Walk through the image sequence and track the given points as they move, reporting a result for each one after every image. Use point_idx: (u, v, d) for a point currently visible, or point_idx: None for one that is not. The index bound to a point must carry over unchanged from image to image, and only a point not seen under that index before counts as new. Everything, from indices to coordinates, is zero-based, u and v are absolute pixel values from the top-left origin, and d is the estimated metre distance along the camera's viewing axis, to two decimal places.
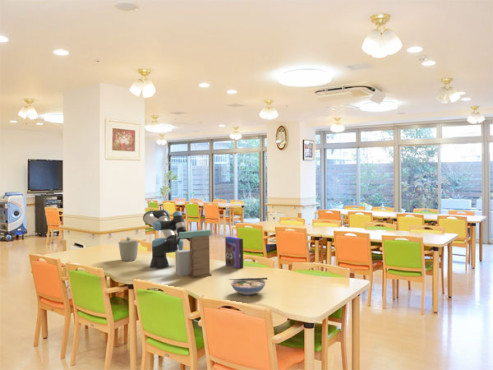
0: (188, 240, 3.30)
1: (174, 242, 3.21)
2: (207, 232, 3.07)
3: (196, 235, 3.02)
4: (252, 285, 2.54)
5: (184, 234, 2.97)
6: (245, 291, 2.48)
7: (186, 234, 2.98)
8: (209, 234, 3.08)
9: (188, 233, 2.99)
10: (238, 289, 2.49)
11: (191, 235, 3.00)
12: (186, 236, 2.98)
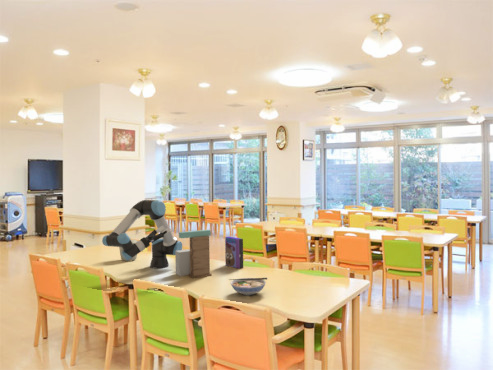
0: (156, 235, 2.93)
1: None
2: (207, 232, 3.07)
3: (196, 235, 3.02)
4: (252, 285, 2.54)
5: (184, 234, 2.97)
6: (245, 291, 2.48)
7: (186, 234, 2.98)
8: (209, 234, 3.08)
9: (188, 233, 2.99)
10: (238, 289, 2.49)
11: (191, 235, 3.00)
12: (186, 236, 2.98)
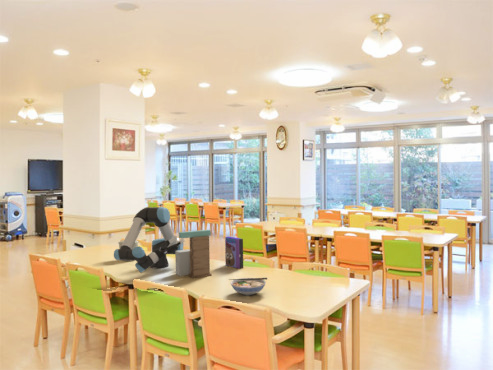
0: (169, 246, 2.89)
1: None
2: (207, 232, 3.07)
3: (196, 235, 3.02)
4: (252, 285, 2.54)
5: (184, 234, 2.97)
6: (245, 291, 2.48)
7: (186, 234, 2.98)
8: (209, 234, 3.08)
9: (188, 233, 2.99)
10: (238, 289, 2.49)
11: (191, 235, 3.00)
12: (186, 236, 2.98)
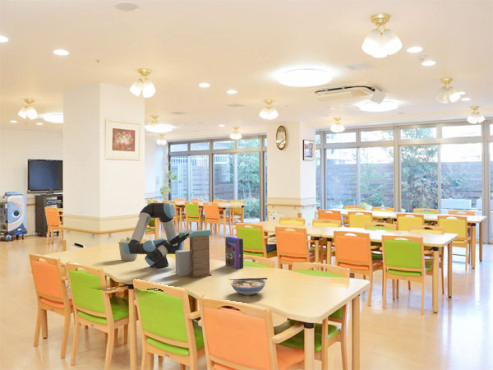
0: (178, 238, 2.95)
1: None
2: (207, 232, 3.07)
3: (196, 235, 3.02)
4: (252, 285, 2.54)
5: None
6: (245, 291, 2.48)
7: None
8: (209, 234, 3.08)
9: None
10: (238, 289, 2.49)
11: (191, 235, 3.00)
12: None
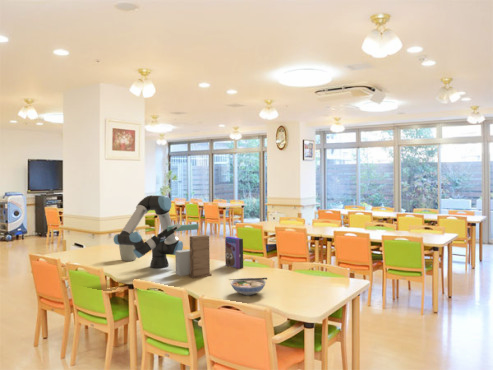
0: (166, 232, 3.03)
1: None
2: (195, 226, 3.14)
3: (184, 229, 3.10)
4: (252, 285, 2.54)
5: None
6: (245, 291, 2.48)
7: None
8: (197, 228, 3.15)
9: None
10: (238, 289, 2.49)
11: (179, 229, 3.07)
12: None
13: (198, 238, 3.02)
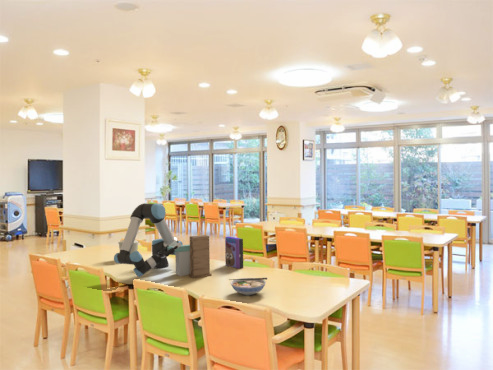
0: (166, 251, 3.02)
1: None
2: None
3: (184, 249, 3.10)
4: (252, 285, 2.54)
5: None
6: (245, 291, 2.48)
7: None
8: None
9: None
10: (238, 289, 2.49)
11: (179, 249, 3.08)
12: None
13: (198, 238, 3.02)
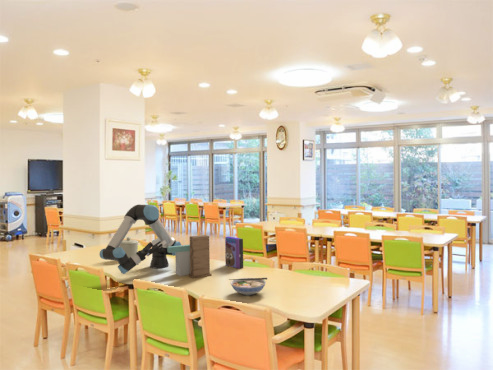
0: (151, 248, 2.95)
1: None
2: None
3: (184, 249, 3.10)
4: (252, 285, 2.54)
5: (172, 248, 3.05)
6: (245, 291, 2.48)
7: (174, 248, 3.06)
8: None
9: (176, 247, 3.07)
10: (238, 289, 2.49)
11: (179, 249, 3.08)
12: (174, 250, 3.06)
13: (198, 238, 3.02)
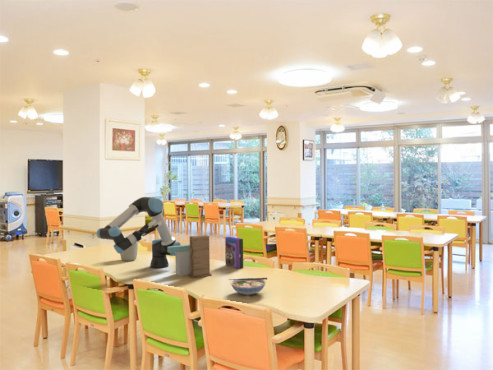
0: (147, 228, 2.96)
1: None
2: None
3: (184, 249, 3.10)
4: (252, 285, 2.54)
5: (172, 248, 3.05)
6: (245, 291, 2.48)
7: (174, 248, 3.06)
8: None
9: (176, 247, 3.07)
10: (238, 289, 2.49)
11: (179, 249, 3.08)
12: (174, 250, 3.06)
13: (198, 238, 3.02)
